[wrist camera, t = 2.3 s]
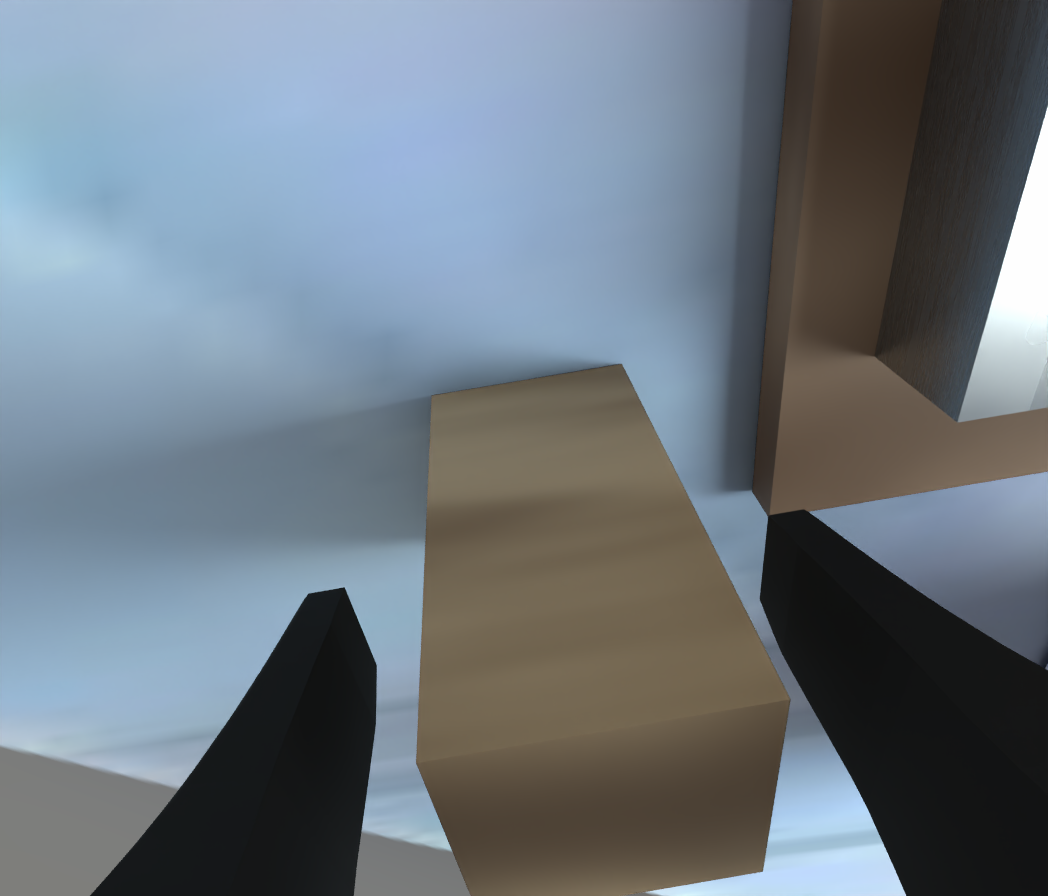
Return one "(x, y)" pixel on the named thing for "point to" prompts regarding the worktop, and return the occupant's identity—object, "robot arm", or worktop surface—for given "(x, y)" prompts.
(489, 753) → the peg
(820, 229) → the socket board
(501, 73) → the worktop surface
